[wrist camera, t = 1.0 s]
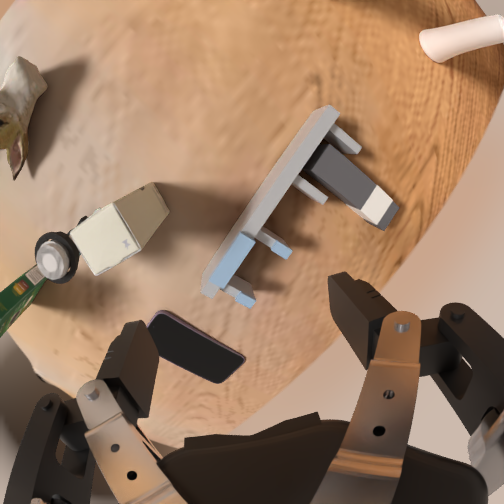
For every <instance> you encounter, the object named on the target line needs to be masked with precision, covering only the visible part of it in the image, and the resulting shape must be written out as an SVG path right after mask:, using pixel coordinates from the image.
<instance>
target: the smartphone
mask: <svg viewBox="0 0 504 504" xmlns="http://www.w3.org/2000/svg"><path fill="white" fill-rule="evenodd" d="M146 327H147V329H148V331H149V333H150V335H151V337H152V339H153V341H154V343H155V345H156V347H157V350H158V353H159V356H160V357H162V358H164V359H166V360H168V361H169V362H171V363H173V364H175V365H177V366H179V367H181V368H183V369H185V370H187V371H189V372H191V373H193V374H195V375H198V376H200V377H202V378H204V379H206V380H208V381H211V382H213V383H216V384H219V383H222V382H224V381H225V380H226V379H227V378H228V377H229V376H230V375H231V374H232V373H233V372H235V371H236V370H237V369H238V368H239V367H240V366H241V365H242V364H243V363H244V361H245V359H244V357H243V356H242V355H241V354H239V353H237V352H236V351H234V350H232V349H230V348H228V347H226V346H225V345H223V344H221V343H219V342H218V341H216V340H214V339H212V338H211V337H209V336H207V335H205V334H204V333H202V332H200V331H199V330H197V329H195V328H194V327H192V326H190V325H189V324H187V323H185V322H184V321H182V320H180V319H179V318H177V317H175V316H174V315H172V314H170V313H169V312H167V311H164V310H160V311H158V312H157V313H156V314H155V315H154V316H153V318H152V319H151V321H150V322H149V323H148V325H147V326H146Z"/></svg>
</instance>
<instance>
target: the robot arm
mask: <svg viewBox="0 0 504 504" xmlns="http://www.w3.org/2000/svg"><path fill="white" fill-rule="evenodd" d="M328 290H329V302H330V310H331V314H332V317H333V320H334V321H335V323H336V324H337V326H338V327H339V329H340V331H341V332H342V334H343V335H344V337H345V338H346V340H347V341H348V343H349V344H350V346H351V348H352V349H353V351H354V352H355V354H356V355H357V357H358V358H359V360H360V362H361V363H362V365H363V366H364V368H365V370H368V371H367V374H366V378H365V381H364V384H363V387H362V391H361V393H360V396H359V399H358V402H357V405H356V408H355V411H354V413H353V416H352V419H351V421H350V422H348V421H343V420H320V417H319V415H318V412H314V413H311V414H308V415H304V416H301V417H297V418H293V419H290V420H285V421H283V422H281V423H279V424H277V425H274V426H273V427H270V428H268V429H266V430H263V431H261V432H259V433H256V434H254V435H250V436H240V435H220V434H213V435H206V436H197V437H187V438H185V439H184V447H183V448H180V449H178V450H175V451H173V452H171V453H170V454H168V455H166V456H165V457H162V456H161V455H160V453H159V452H158V451H157V450H156V448H155V447H154V446H153V444H152V443H151V442H150V440H149V439H148V438H147V436H146V435H145V434H144V432H143V431H142V429H141V428H140V427H139V426H138V424H137V420H138V418H148V417H149V411H150V405H151V400H152V394H153V389H154V384H155V378H156V373H157V368H158V364H159V353H158V350H157V347H156V345H155V343H154V341H153V339H152V337H151V335H150V333H149V331H148V329H147V327H146V325H145V323H144V322H143V321H142V320H139V321H134V322H128V323H126V324H125V325H124V327H123V330H122V332H121V334H120V335H119V336H117V337H116V338H115V340H114V341H113V342H112V343H111V345H110V347H109V349H108V353H107V354H106V356H105V359H104V361H103V363H102V365H101V368H100V370H99V373H98V375H97V377H96V380H92V381H89V382H87V383H85V384H84V385H83V386H82V387H81V388H80V389H79V391H78V393H77V396H76V398H74V399H71V400H68V401H63V400H62V399H61V398H60V397H59V395H57V394H55V393H50V394H47V395H45V396H44V397H42V398H41V399H40V400H39V401H38V403H37V405H36V406H35V409H34V411H33V414H32V416H31V418H30V421H29V423H28V426H27V428H26V431H25V433H24V436H23V439H22V441H21V444H20V447H19V450H18V453H17V456H16V459H15V462H14V465H13V468H12V472H11V475H10V479H9V482H8V486H7V490H6V494H5V498H4V503H3V504H90V497H91V489H92V481H93V475H94V468H95V462H96V461H97V464H98V466H99V468H100V469H101V472H102V473H103V475H104V477H105V479H106V481H107V483H108V485H109V486H110V488H111V490H112V492H113V493H114V495H115V497H116V498H117V500H118V502H119V503H118V504H488V496H489V495H491V494H492V493H493V492H494V491H496V490H497V489H498V488H499V487H501V486H502V485H503V484H504V338H502V337H501V335H499V334H498V333H497V332H496V331H495V330H494V329H493V328H492V327H491V326H490V325H489V324H488V323H487V322H486V321H484V320H483V319H482V318H481V317H480V316H479V315H478V314H477V313H476V312H474V311H473V310H472V309H471V308H470V307H468V306H467V305H465V304H462V303H449V304H446V305H444V306H443V307H442V308H441V311H440V316H439V318H432V319H426V320H420V319H419V318H418V316H417V315H415V314H413V313H411V312H407V311H397V310H396V309H395V308H394V307H393V306H392V305H391V304H390V303H389V302H388V301H387V300H386V299H385V298H384V297H383V296H381V294H380V293H379V292H378V291H376V290H375V288H374V287H373V286H371V285H370V284H369V283H367V282H365V281H362V280H360V279H358V280H354V279H353V278H352V277H351V276H350V275H349V274H348V273H347V272H341V273H338V274H334V275H331V276H328ZM462 356H463V357H464V358H465V359H466V361H467V362H468V363H469V364H470V365H471V368H472V369H471V368H470V367H469V366H468V365H467V363H466V362H465V361H464V360H463V359H462ZM427 375H430V376H431V377H432V378H433V380H434V381H435V382H436V384H437V385H438V387H439V389H440V390H441V391H442V393H443V394H444V396H445V397H446V398H447V400H448V402H449V403H450V405H451V406H452V408H453V409H454V411H455V412H456V414H457V415H458V417H459V418H460V420H461V421H462V423H463V425H464V426H465V428H466V429H467V431H468V433H469V434H470V436H471V437H470V439H469V442H468V452H469V459H470V461H471V465H469V464H466V463H463V462H460V461H456V460H453V459H449V458H446V457H442V456H440V455H436V454H433V453H430V452H427V451H425V450H422V449H419V448H416V447H413V446H410V445H408V444H407V443H408V439H409V434H410V429H411V425H412V419H413V414H414V409H415V403H416V397H417V390H418V382H419V377H422V376H427ZM59 438H60V439H61V440H62V441H63V442H64V443H65V444H66V448H65V451H64V455H63V460H62V464H61V465H60V464H59V463H58V461H57V459H56V456H55V452H56V448H57V444H58V441H59Z"/></svg>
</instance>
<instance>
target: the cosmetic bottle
mask: <svg viewBox="0 0 504 504" xmlns="http://www.w3.org/2000/svg"><path fill="white" fill-rule="evenodd" d="M419 41H420V44H421V47H422V49H423V50H424V52H425V53H426V55H427V56H428V57H429V58H430V59H432V60H433V61H435V62H437V63H442V62H444V61H446V60H448V59H450V58H452V57H454V56H457V55H459V54H462V53H465V52H468V51H471V50H475V49H478V48H482V47H486V46H490V45H494V44H499V43H503V42H504V17H503V16H502V15H492V16H486V17H481V18H476V19H471V20H467V21H463V22H459V23H455V24H451V25H447V26H443V27H438V28H432V29H425V30H422V31H421V32H420V34H419Z"/></svg>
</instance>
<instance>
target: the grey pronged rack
mask: <svg viewBox="0 0 504 504" xmlns="http://www.w3.org/2000/svg"><path fill="white" fill-rule="evenodd" d="M339 115H340V113H339V112H338V111H337V110H336V109H334V108H333V107H332V106H331V105H327V106H324V107H322V108H319V109H316V110H314V111H313V112H312V113H311V115H310V116H309V117H308V119H307V120H306V122H305V123H304V124H303V126H302V127H301V128H300V130H299V131H298V133H297V134H296V136H295V137H294V138H293V140H292V141H291V143H290V144H289V145H288V147H287V148H286V150H285V151H284V152H283V154H282V155H281V157H280V158H279V160H278V161H277V163H276V164H275V165H274V167H273V168H272V170H271V171H270V173H269V174H268V176H267V177H266V178H265V180H264V181H263V183H262V184H261V186H260V187H259V189H258V190H257V192H256V193H255V195H254V196H253V197H252V199H251V200H250V202H249V203H248V205H247V206H246V208H245V209H244V211H243V212H242V214H241V215H240V217H239V218H238V220H237V221H236V223H235V224H234V226H233V227H232V229H231V230H230V232H229V233H228V235H227V236H226V238H225V239H224V241H223V242H222V244H221V246H220V247H219V249H218V250H217V252H216V253H215V255H214V256H213V258H212V259H211V261H210V262H209V264H208V266H207V267H206V269H205V270H204V272H203V273H202V281H201V293H202V294H204V295H206V296H208V297H209V298H211V299H213V297H214V296H215V295H216V293H217V292H218V290H219V289H220V290H222V291H224V292H225V293H227V294H229V295H231V296H233V297H235V301H236V302H238V303H240V304H242V305H244V306H246V307H248V308H251V307H252V306H253V304H254V303H255V302H256V299H255V296H254V293H253V289H252V286H251V284H250V283H248V282H247V281H245V280H243V279H241V278H239V277H238V276H236V275H234V273H235V272H236V270H237V269H238V267H239V266H240V264H241V263H242V261H243V260H244V258H245V257H246V256H247V254H248V253H249V251H250V250H251V248H252V247H253V245H254V244H255V243H256V242H255V240H254V238H256V239H257V240H259V241H260V242H262V243H264V244H265V245H267V246H269V247H270V248H271V251H273V252H275V253H276V254H278V255H279V256H281V257H283V258H284V259H286V260H287V258H288V257H289V255H290V254H291V253H292V251H293V250H292V249H291V248H289V246H288V245H287V244H286V243H285V241H284V240H283V239H282V238H280V237H279V236H277V235H276V234H274V233H273V232H271V231H269V230H268V229H266V228H265V227H263V224H264V223H265V222H266V220H267V219H268V217H269V216H270V214H271V213H272V211H273V210H274V208H275V207H276V206H277V204H278V203H279V201H280V200H281V198H282V197H283V195H284V194H285V193H286V191H287V190H288V188H289V187H290V185H293V186H294V187H295V188H297V189H298V190H300V191H301V192H302V193H304V194H305V195H306V196H308V197H309V198H310V199H312V200H314V201H316V202H318V203H320V204H322V205H323V204H324V203H325V201H326V200H327V198H328V197H327V196H326V195H324V194H323V193H322V192H320V191H319V190H318V189H317V188H315V187H314V186H313V185H311V184H310V183H309V182H307V181H306V180H305V179H303V178H302V177H300V176H299V175H298V174H299V172H300V171H301V169H302V168H303V167H304V165H305V164H306V162H307V161H308V159H309V158H310V157H311V155H312V154H313V152H314V151H315V149H316V148H317V146H318V145H319V144H320V142H321V141H322V139H323V138H324V139H325V140H327V141H328V142H329V143H330V144H331V145H333V146H334V147H335V148H336V149H338V150H339V151H340V152H341V153H342V154H358V153H359V151H360V150H361V148H362V147H361V146H360V145H359V144H358V143H357V142H355V141H354V140H353V139H352V138H351V137H350V136H349V135H347V134H346V133H345V132H344V131H343V130H342V129H340V128H339V127H338V126H337V125H336V124H334V122H335V121H336V119H337V118H338V116H339Z"/></svg>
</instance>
